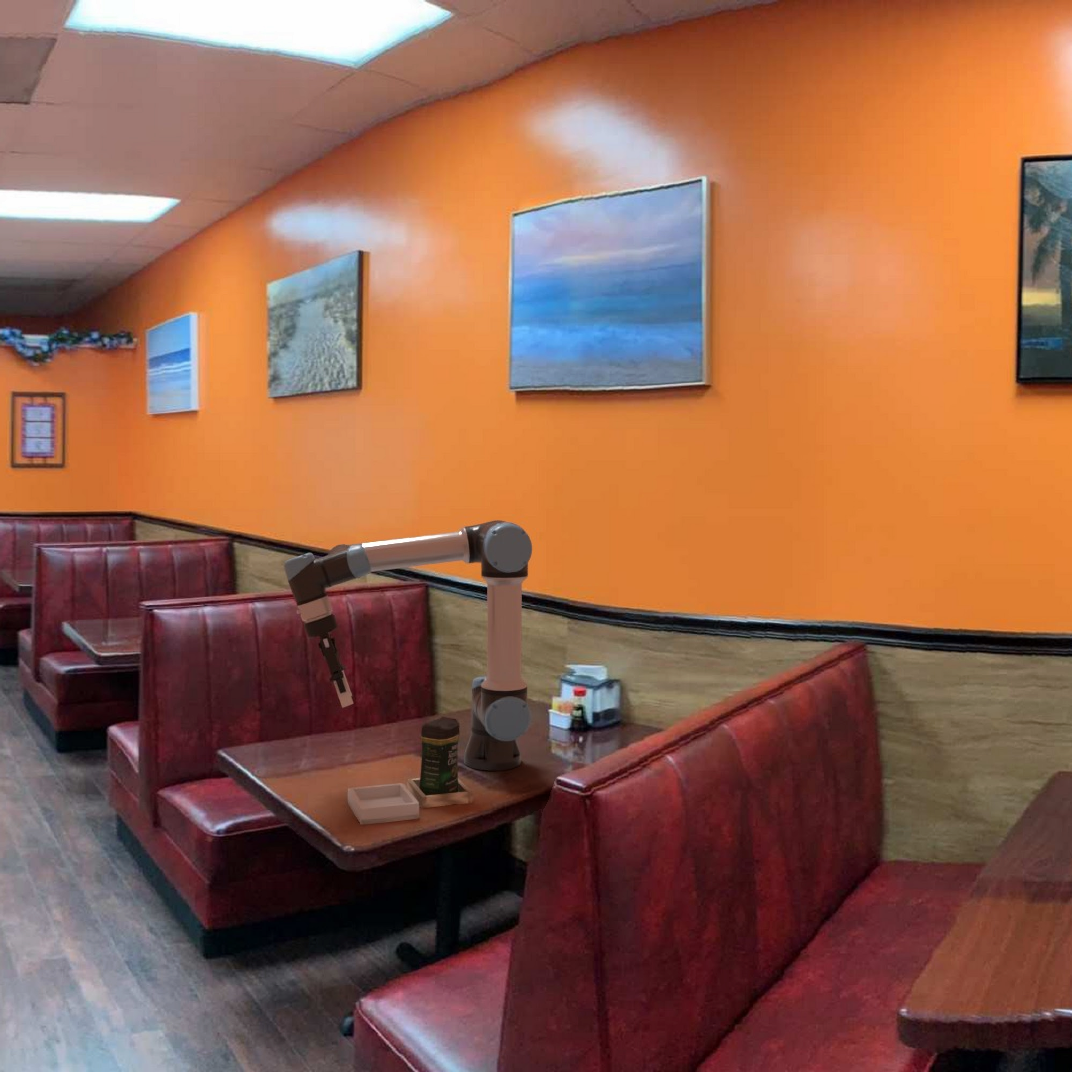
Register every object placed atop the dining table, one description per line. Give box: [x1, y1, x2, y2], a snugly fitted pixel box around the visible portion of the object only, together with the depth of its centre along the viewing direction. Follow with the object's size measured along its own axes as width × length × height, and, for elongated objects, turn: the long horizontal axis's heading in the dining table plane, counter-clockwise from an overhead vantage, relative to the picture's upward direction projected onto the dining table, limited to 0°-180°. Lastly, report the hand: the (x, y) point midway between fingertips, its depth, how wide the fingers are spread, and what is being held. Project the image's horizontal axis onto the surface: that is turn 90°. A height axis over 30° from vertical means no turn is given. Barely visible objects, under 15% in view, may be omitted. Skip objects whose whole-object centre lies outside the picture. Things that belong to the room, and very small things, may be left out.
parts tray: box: [347, 782, 420, 826], centre depth 230 cm, size 13×15×4 cm
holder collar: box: [406, 777, 473, 809], centre depth 241 cm, size 12×14×2 cm
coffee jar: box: [419, 716, 460, 796], centre depth 241 cm, size 10×8×19 cm
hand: (347, 701), depth 243 cm, fingers open, 13 cm apart
